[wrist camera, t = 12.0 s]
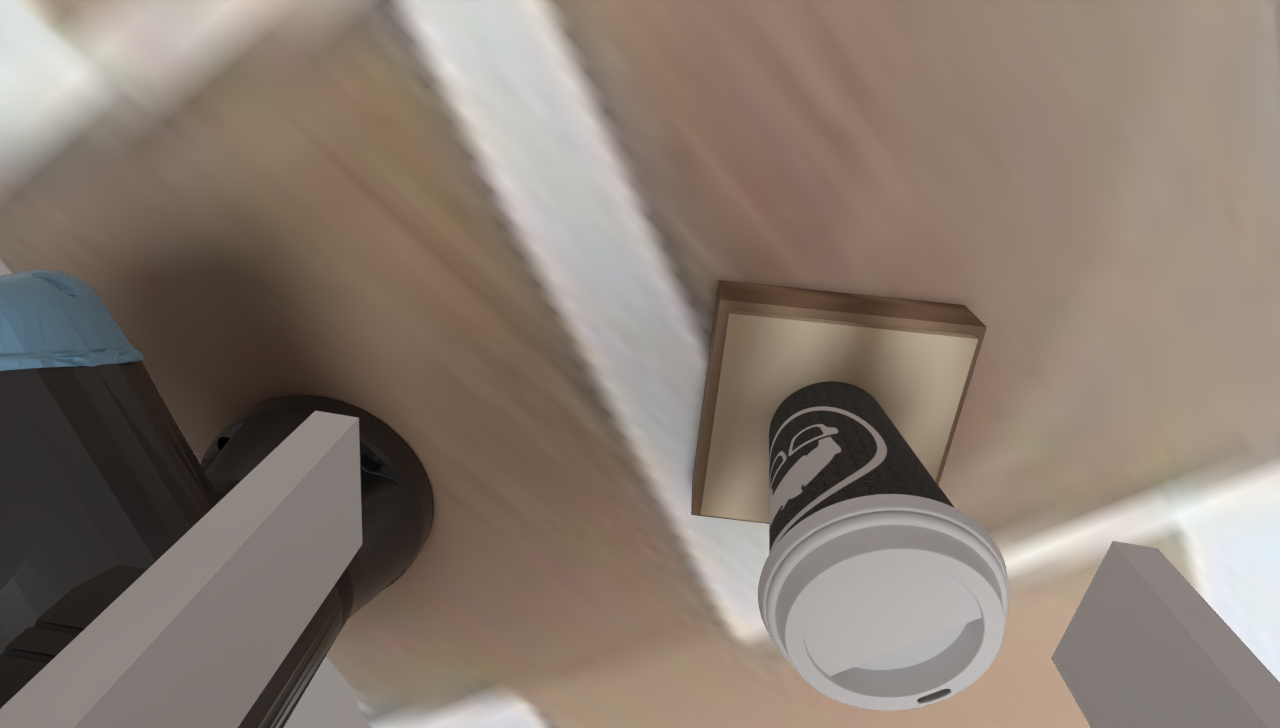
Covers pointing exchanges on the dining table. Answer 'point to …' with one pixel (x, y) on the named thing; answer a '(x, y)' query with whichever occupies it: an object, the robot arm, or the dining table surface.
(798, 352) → the pedestal
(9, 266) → the dining table surface
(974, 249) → the dining table surface
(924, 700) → the coffee cup
